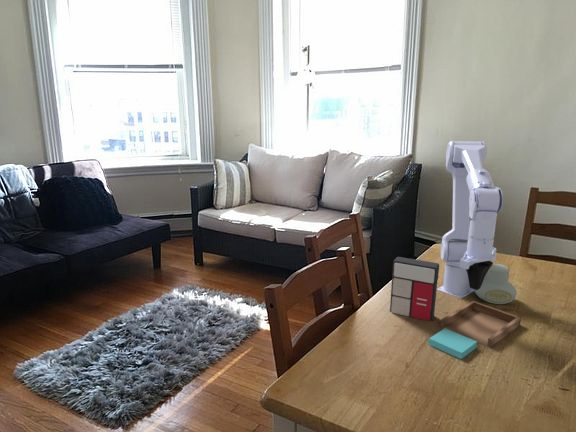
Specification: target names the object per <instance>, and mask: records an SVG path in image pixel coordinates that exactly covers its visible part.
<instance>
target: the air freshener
mask: <svg viewBox="0 0 576 432" xmlns="http://www.w3.org/2000/svg"><path fill="white" fill-rule="evenodd" d="M509 276H510V268H509V267H508V266H506V265H503V264H501V263H493V265H492V266H491V268H490V269H489V270H488V272H487V274H486V275H485V278H484V280H483V283H482V285H481V287H480V289H478V290H475V289H474V291H475V292H474V293H475V294H476V296H477V297H478V298H479V299H481V300H482V301H484V302H487V303H488V304H489V303H490V304H492V305H505V304H509V303H511V302H512V301H514V300H515V299H516V298H517V294H518V293H517V288H516V287H515V286H514V285H513V283H512V282H510V281H509V278H510V277H509Z"/></svg>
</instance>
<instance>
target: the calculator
mask: <svg viewBox="0 0 576 432" xmlns="http://www.w3.org/2000/svg"><path fill="white" fill-rule="evenodd" d="M439 270H440V264H439V263H436V262H432V261H426V260H420V259H414V258H407V257H402V256H397V257H396V258H395V259H394V260H393V262H392V273H391V276H392V277H391V288H390V289H391V290H390V304H389V306H390V307H389V311H390V313H392V314H396V315H401V316H405V317H411V318H413V319H419V320H422V321H427V322H429V321H433V319H434V317H435V310H436V309H435V308H436V302H437V301H436V298H437V291H438V290H437V287H438V280H439V273H440V271H439Z"/></svg>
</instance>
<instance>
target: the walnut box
mask: <svg viewBox="0 0 576 432" xmlns="http://www.w3.org/2000/svg"><path fill="white" fill-rule="evenodd" d="M521 321H522V317H520V316H517V315H514V314H512V313H509V312H506V311H503V310H501V309H498V308H495V307H492V306H489V305H486V304H484V303H481V302H478V301H475V300H471V301H470V302H468V303H467V304H465V305H463V306H461V307H460V308H457V309H456V310H455V311H453V312H452V313H450V314H448V315H447V316H445V317H443V318H441V321H440V327H441V328H443V329H444V328H446V329H448V330H450V331H453V332H455V333H458V334H460V335H462V336H465V337H467V338H470V339H472V340H475V341H477V344H481V345H483V346H486V347H487V348H493V346H495V345H496V344H498V343H499V342H500V341H501V340H503V339H504V338H505V337H507V336H508V335H509V334H510V333H512V332H513V331H515V329H516V328H518V327H519V326H520V325H521Z"/></svg>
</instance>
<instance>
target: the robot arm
mask: <svg viewBox="0 0 576 432" xmlns="http://www.w3.org/2000/svg"><path fill="white" fill-rule="evenodd" d="M487 149H488V148H487V144H486V143H485V141H484V140H480V141H466V140H465V141H462V140H461V141H460V140H459V141H458V140H457V141H456V140H450V141H449V142H448V143H447V146H446V153H445V167H446V171H447V172H448V173H450V174H451V176H452V214H451V215H452V217H451V219H452V223H451V224H452V226H451V227H452V228H451V230H449V231H448V232H446V233H445V234H444V235H443V236H442V238H441V245H440V258H441V260H442V261H443V263H444V264H445V265H444V273H443V281H442V282H443V283H442V285H441V286H440V287H438V288H437V291H439V292H443V293H445V294H448V295H451V296H454V297H456V298H459V299H463V298H465V297H467V296H468V295H470V294H472V293H475V291H474V289H475V290H478V289H480V287H481V285H482V283H483V280H484V278H485V275H486V274H487V272H488V270H489V269H490V268H491V266H492V265H493V264H494V262H495V261H497V256H496V255H497V248H496V247H494V241H495V232H496V223H497V217H498V216H497V215H498V213H501V211H502V208H503V205H504V203H503V202H504V198H503V195H504V194H503V191H502V189H501V188H500V187H498V186H495V184H494V181H493V179H492V177H491V174H490V172H489V171H488V170H487V169H485V168H484V162H485V161H486V158H487V153H488V152H487V151H488V150H487Z"/></svg>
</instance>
